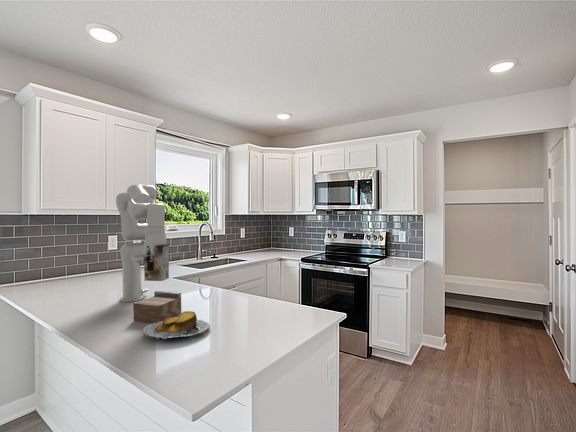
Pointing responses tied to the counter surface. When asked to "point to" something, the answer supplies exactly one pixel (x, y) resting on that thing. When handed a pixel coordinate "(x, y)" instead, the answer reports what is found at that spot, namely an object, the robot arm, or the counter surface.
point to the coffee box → (158, 265)
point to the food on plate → (177, 326)
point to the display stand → (157, 307)
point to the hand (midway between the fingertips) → (156, 268)
